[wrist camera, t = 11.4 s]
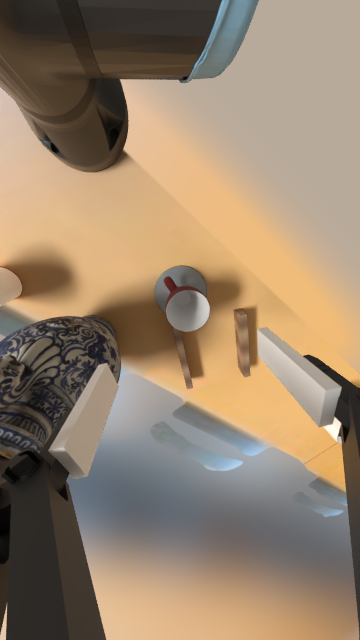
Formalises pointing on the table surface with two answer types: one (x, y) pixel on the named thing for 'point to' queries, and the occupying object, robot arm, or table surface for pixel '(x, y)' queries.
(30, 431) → the decorative vase
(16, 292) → the cup
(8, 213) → the table surface
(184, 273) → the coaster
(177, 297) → the mug
